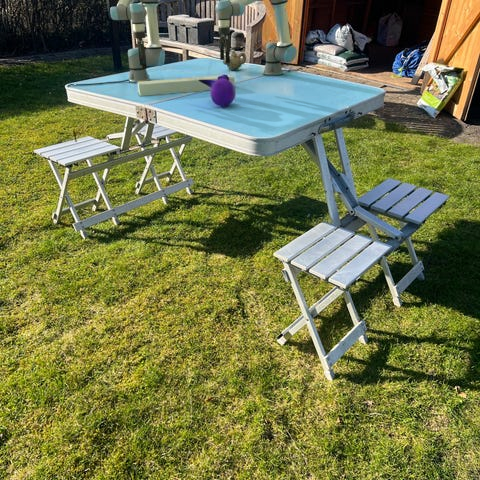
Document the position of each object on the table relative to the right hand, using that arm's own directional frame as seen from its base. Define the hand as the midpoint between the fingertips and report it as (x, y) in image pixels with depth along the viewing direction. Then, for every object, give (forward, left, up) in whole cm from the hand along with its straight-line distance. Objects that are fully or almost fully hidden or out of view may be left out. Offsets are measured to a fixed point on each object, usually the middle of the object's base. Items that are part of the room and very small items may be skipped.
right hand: (225, 61), depth 306 cm
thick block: (+25, -11, -17) cm, 33 cm away
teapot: (-48, -46, -17) cm, 69 cm away
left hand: (+50, -22, 0) cm, 55 cm away
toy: (+34, +34, -17) cm, 51 cm away
